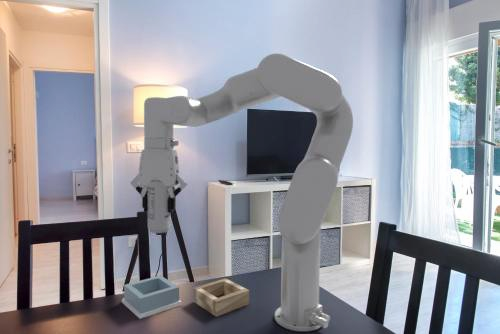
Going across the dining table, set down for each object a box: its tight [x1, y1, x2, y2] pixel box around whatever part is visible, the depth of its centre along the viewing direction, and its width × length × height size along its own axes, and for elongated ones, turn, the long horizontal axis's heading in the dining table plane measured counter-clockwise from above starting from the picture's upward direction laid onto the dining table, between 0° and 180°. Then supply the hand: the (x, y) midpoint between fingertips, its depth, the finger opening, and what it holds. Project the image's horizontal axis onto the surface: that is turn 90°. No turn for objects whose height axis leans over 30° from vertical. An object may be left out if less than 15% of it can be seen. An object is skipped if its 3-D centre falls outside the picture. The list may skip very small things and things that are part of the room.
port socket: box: [121, 275, 183, 320], centre depth 99 cm, size 12×12×5 cm
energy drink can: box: [147, 177, 171, 234], centre depth 97 cm, size 6×6×15 cm
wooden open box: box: [193, 278, 250, 318], centre depth 100 cm, size 11×11×4 cm
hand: (159, 210), depth 97 cm, fingers closed on energy drink can, 6 cm apart
